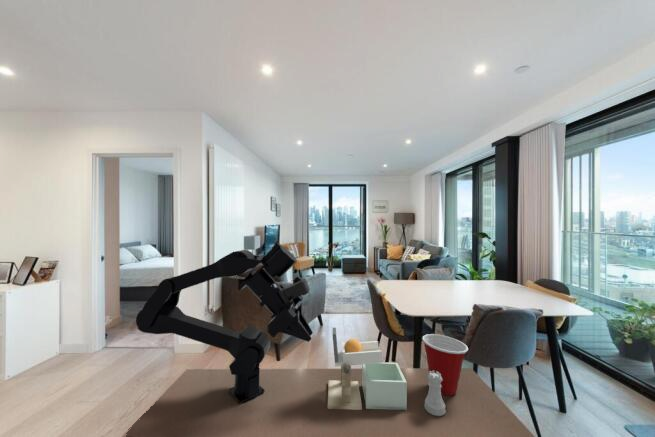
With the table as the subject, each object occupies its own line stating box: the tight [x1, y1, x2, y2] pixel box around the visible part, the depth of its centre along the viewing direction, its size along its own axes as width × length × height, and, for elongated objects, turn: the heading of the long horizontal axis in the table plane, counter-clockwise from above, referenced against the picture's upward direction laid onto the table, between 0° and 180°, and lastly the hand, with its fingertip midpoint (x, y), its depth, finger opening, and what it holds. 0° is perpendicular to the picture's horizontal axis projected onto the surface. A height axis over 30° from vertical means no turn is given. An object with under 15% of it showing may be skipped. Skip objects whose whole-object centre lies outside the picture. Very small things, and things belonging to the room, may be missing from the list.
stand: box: [327, 350, 363, 411], centre depth 65 cm, size 8×10×9 cm
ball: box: [345, 338, 361, 353], centre depth 65 cm, size 4×4×4 cm
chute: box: [331, 327, 384, 367], centre depth 65 cm, size 11×6×7 cm, turn 89°
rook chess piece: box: [424, 370, 446, 417], centre depth 60 cm, size 4×4×8 cm
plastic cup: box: [422, 333, 469, 396], centre depth 68 cm, size 11×11×12 cm
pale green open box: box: [361, 361, 408, 411], centre depth 64 cm, size 9×9×6 cm
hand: (310, 337), depth 65 cm, fingers open, 3 cm apart
